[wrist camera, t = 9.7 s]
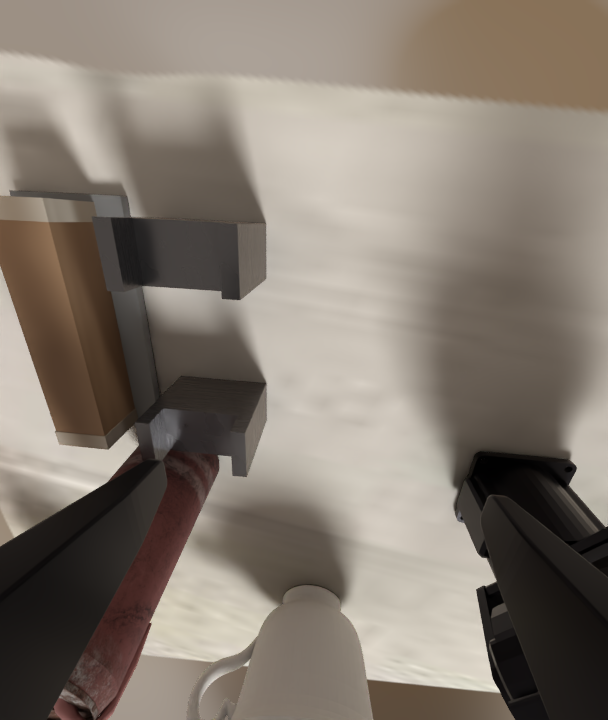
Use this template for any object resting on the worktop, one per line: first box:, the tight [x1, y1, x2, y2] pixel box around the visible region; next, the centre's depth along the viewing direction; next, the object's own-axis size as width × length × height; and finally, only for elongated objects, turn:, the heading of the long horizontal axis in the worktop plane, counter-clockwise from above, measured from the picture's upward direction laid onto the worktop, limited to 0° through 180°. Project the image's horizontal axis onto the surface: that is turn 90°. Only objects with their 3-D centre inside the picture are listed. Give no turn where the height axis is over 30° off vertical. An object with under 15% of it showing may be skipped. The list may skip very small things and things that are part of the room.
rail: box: [0, 196, 138, 449], centre depth 19 cm, size 3×14×3 cm, turn 178°
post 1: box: [92, 216, 266, 300], centre depth 16 cm, size 6×3×6 cm, turn 87°
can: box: [47, 446, 219, 720], centre depth 18 cm, size 6×6×14 cm
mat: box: [9, 190, 160, 419], centre depth 20 cm, size 6×15×1 cm, turn 177°
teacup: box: [187, 585, 373, 720], centre depth 26 cm, size 12×15×10 cm
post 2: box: [135, 376, 267, 477], centre depth 20 cm, size 6×3×6 cm, turn 87°
